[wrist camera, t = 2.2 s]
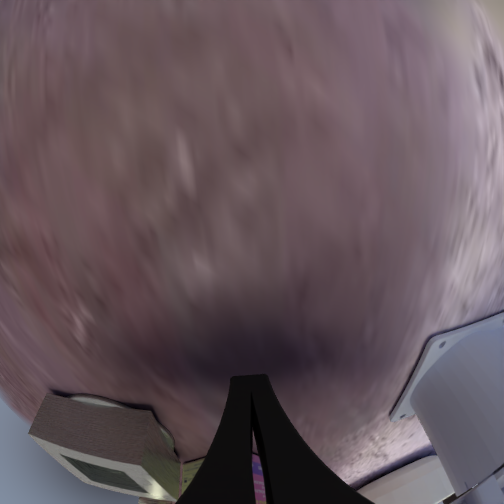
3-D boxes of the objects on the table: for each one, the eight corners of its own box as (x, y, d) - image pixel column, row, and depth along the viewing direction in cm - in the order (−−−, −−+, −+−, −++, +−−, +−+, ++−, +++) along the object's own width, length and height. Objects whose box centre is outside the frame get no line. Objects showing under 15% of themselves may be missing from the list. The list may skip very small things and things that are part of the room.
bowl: (450, 451, 26) (467, 484, 19) (349, 502, 29) (359, 537, 22) (455, 420, 19) (484, 471, 11) (305, 495, 22) (316, 548, 15)
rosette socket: (155, 402, 12) (144, 464, 9) (185, 459, 15) (183, 503, 12) (43, 384, 12) (21, 429, 8) (93, 445, 15) (83, 482, 11)
